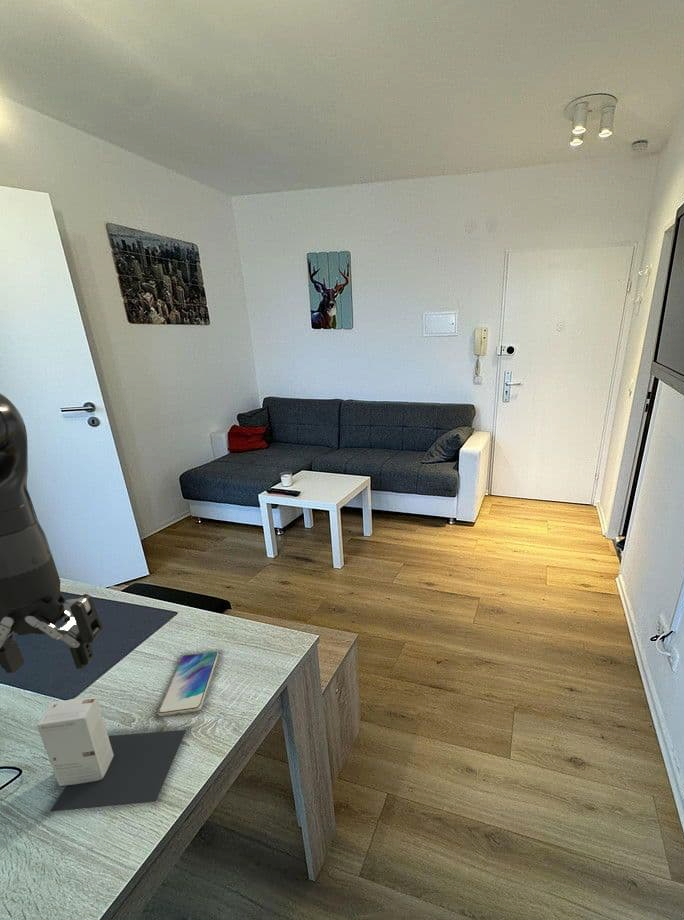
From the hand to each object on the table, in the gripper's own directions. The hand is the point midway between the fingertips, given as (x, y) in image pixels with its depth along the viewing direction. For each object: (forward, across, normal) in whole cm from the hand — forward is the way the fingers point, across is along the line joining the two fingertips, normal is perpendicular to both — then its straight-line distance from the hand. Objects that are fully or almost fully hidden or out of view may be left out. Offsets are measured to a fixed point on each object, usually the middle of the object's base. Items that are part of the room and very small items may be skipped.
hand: (50, 666), depth 58 cm
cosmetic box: (+20, 0, 0) cm, 20 cm away
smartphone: (+20, -9, -17) cm, 28 cm away
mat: (+20, -5, 0) cm, 21 cm away
